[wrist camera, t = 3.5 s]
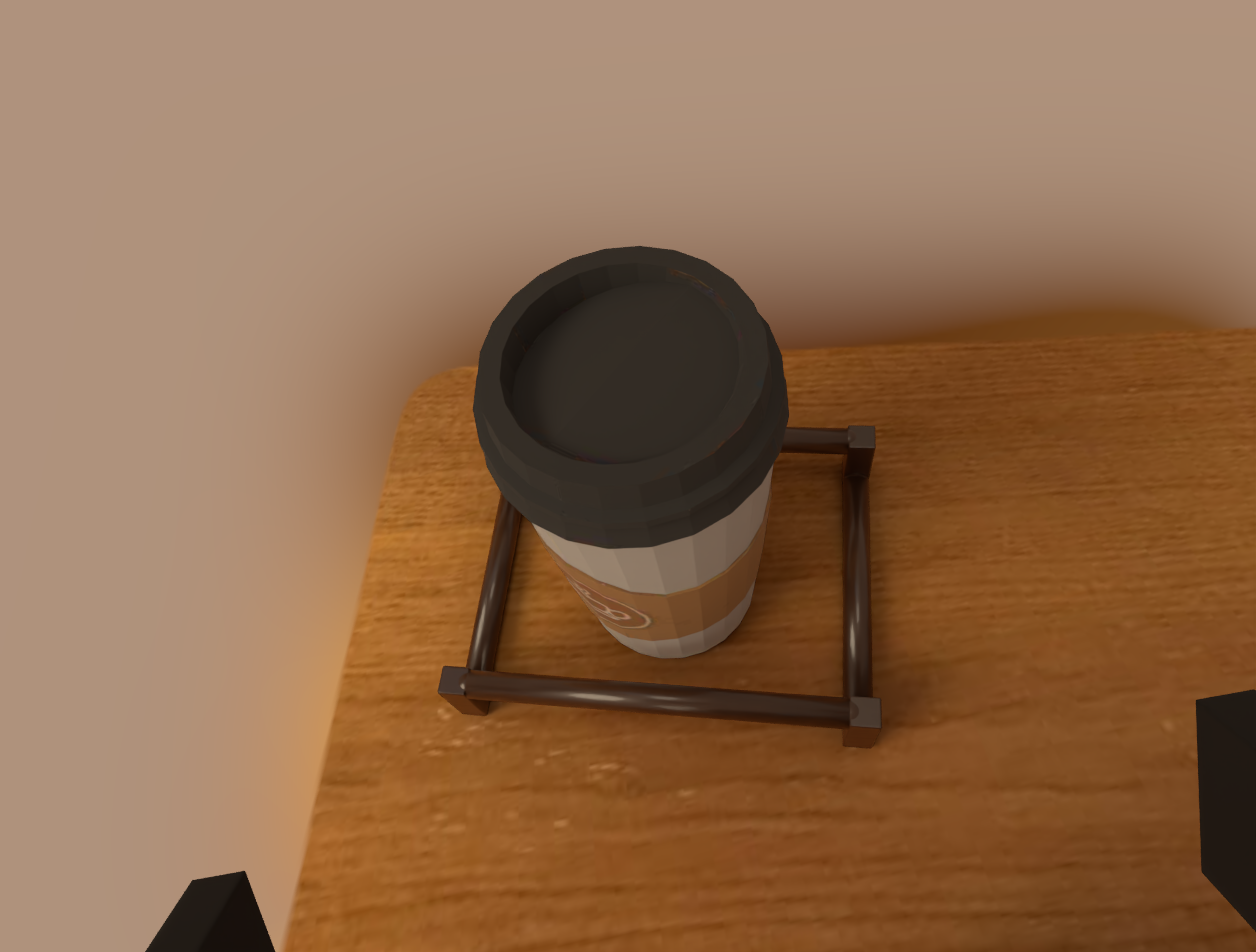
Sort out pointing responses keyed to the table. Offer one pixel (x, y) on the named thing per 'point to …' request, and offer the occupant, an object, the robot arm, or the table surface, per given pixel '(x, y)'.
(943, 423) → the table surface
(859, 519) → the rectangular rod frame
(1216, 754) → the robot arm
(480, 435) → the coffee cup
